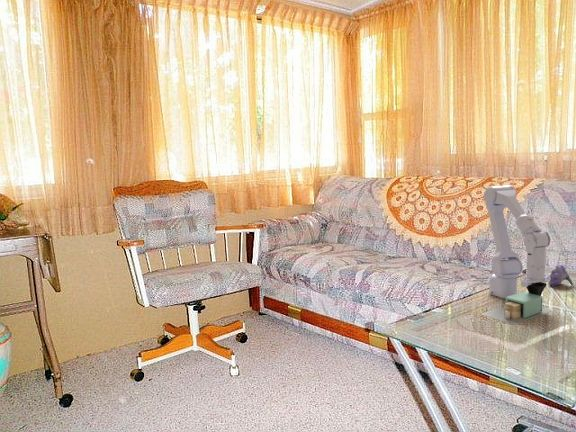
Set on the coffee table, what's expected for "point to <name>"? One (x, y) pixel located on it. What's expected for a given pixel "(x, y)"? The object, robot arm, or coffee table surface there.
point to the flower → (559, 276)
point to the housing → (527, 302)
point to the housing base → (512, 321)
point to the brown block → (513, 309)
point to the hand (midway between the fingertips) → (534, 302)
